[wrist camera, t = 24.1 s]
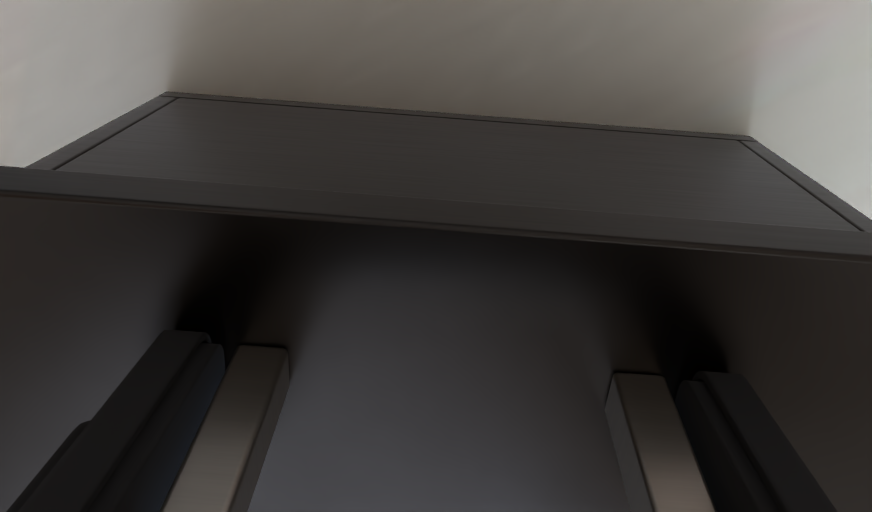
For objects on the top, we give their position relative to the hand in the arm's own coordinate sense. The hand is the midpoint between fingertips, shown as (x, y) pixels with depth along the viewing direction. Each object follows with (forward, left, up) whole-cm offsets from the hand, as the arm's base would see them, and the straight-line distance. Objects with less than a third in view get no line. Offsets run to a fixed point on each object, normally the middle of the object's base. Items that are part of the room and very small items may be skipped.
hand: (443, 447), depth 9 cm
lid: (+6, 0, -2) cm, 6 cm away
